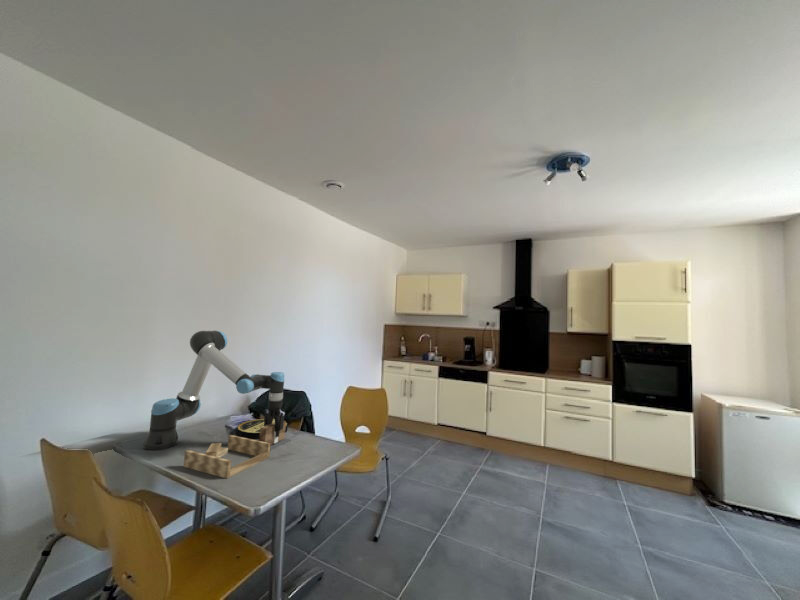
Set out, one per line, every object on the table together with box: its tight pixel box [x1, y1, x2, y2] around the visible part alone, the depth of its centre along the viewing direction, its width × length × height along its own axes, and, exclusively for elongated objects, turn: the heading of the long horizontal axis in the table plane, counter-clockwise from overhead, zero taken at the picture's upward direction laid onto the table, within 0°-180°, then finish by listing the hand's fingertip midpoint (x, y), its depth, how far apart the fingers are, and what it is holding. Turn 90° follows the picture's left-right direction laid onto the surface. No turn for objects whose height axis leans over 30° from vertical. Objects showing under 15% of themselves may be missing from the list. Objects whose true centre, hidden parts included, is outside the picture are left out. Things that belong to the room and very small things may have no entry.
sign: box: [235, 418, 289, 441], centre depth 200 cm, size 30×4×30 cm
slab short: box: [205, 442, 222, 457], centre depth 158 cm, size 4×12×3 cm, turn 19°
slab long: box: [217, 446, 229, 458], centre depth 158 cm, size 4×16×3 cm, turn 173°
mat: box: [270, 437, 292, 451], centre depth 179 cm, size 10×20×1 cm, turn 160°
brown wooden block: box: [258, 420, 287, 445], centre depth 180 cm, size 4×16×10 cm, turn 160°
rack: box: [183, 434, 271, 479], centre depth 155 cm, size 27×26×7 cm
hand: (272, 441), depth 179 cm, fingers closed on brown wooden block, 4 cm apart
